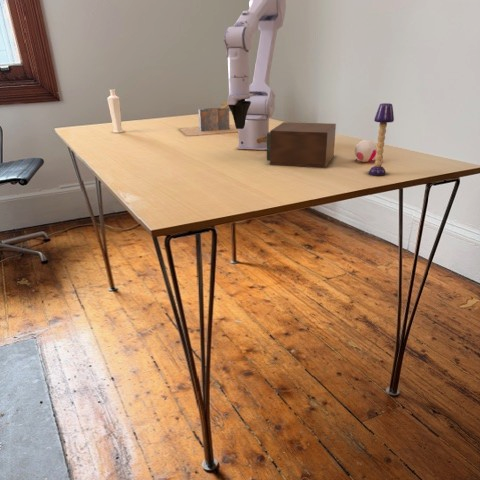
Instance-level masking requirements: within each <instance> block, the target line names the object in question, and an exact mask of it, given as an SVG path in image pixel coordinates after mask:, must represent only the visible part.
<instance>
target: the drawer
mask: <svg viewBox="0 0 480 480" xmlns="http://www.w3.org/2000/svg"><path fill="white" fill-rule="evenodd" d="M270 134H271V133H270V131H269V133H267V136H266V135H263V136H261V137H259V138H258V139H257V143H261V142H267V150H266V162H270ZM265 139H267V140H265Z"/></svg>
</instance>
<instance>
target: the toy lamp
mask: <svg viewBox="0 0 480 480" xmlns="http://www.w3.org/2000/svg"><path fill="white" fill-rule="evenodd" d="M373 121H374V122H376V123H379V126H378V127H379V129H378V136H377V143H376V148H377V150H376V156H375V160H374V166H371V168H370V169H369V170H368V174H369V175H370V176H384V175H386V174H387V172H386V169H385V167H383V166H382V165H383V157H384V156H383V155H384V151H385V150H384V147H385V140H386V133H387V126H388V124H389V123H394V122H395V115H394V108H393V104H392V103H389V102H387V103H386V102H385V103H384V102H383V103H380V104H379V105H378V108H377V110H376V113H375V116H374V120H373Z"/></svg>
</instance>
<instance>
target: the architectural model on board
mask: <svg viewBox="0 0 480 480" xmlns="http://www.w3.org/2000/svg"><path fill="white" fill-rule="evenodd" d="M197 110H198V123H199V127H187V128H179V130H180V132H182V133H183V134H184V135H186V136H187V137H191V136H192V137H193V136H204V135H216V134H231V133H238V129H236V127H235V124H230V108H229V106H228V102H227V101H225V102H222V101H220V107H209V108H204V109H200V108H198V109H197Z"/></svg>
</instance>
